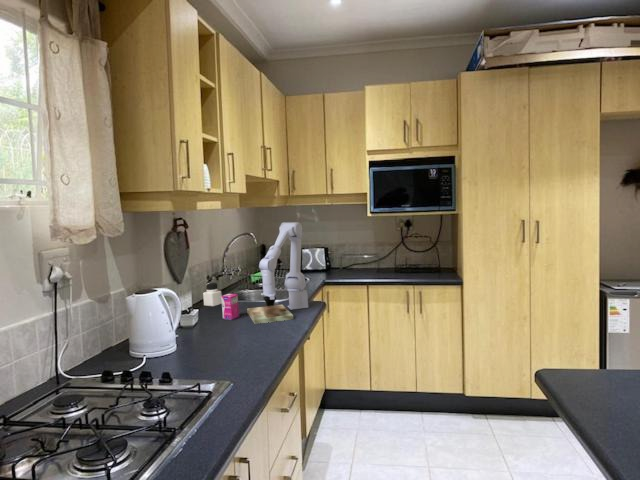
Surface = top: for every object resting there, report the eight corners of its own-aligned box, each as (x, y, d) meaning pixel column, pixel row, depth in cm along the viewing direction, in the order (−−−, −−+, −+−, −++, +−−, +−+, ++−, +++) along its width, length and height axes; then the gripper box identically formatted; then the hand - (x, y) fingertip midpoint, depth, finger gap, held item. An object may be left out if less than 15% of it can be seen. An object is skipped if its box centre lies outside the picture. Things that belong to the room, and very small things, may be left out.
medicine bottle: (222, 303, 256) (220, 282, 255) (213, 306, 250) (211, 284, 249) (213, 302, 260) (211, 281, 258) (203, 305, 254) (202, 283, 252)
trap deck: (282, 308, 237) (282, 304, 237) (293, 319, 214) (293, 315, 214) (247, 312, 232) (247, 308, 232) (254, 324, 209) (254, 319, 209)
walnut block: (276, 313, 219) (276, 305, 219) (279, 316, 213) (279, 307, 213) (264, 314, 217) (263, 306, 217) (266, 317, 212) (266, 309, 211)
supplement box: (222, 319, 221) (220, 296, 220) (230, 316, 226) (228, 293, 225) (232, 320, 218) (230, 296, 217) (239, 317, 223) (238, 294, 222)
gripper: (257, 281, 224) (259, 309, 226) (263, 287, 210) (264, 316, 212) (272, 280, 226) (273, 307, 228) (278, 285, 212) (279, 314, 214)
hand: (270, 311), depth 220 cm, fingers closed
